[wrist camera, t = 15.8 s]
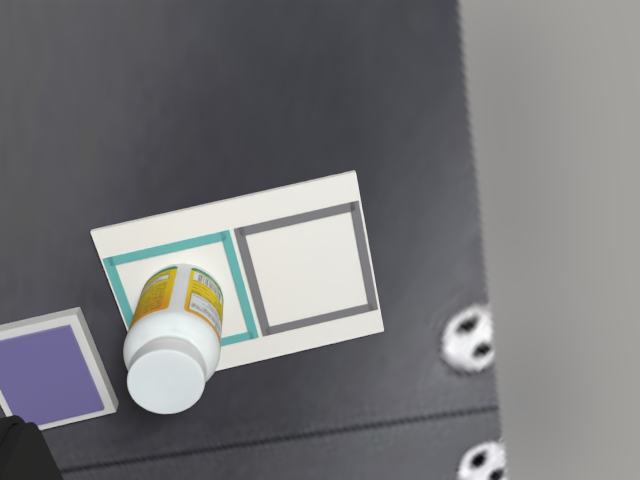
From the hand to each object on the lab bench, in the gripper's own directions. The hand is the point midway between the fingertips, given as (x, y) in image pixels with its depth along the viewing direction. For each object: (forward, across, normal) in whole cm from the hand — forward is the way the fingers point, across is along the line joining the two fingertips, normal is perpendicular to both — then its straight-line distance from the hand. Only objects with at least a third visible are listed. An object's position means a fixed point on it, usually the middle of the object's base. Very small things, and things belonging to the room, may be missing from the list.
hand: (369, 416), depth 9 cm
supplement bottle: (+30, +8, +12) cm, 33 cm away
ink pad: (+30, +19, +15) cm, 39 cm away
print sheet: (+30, +4, +12) cm, 33 cm away
